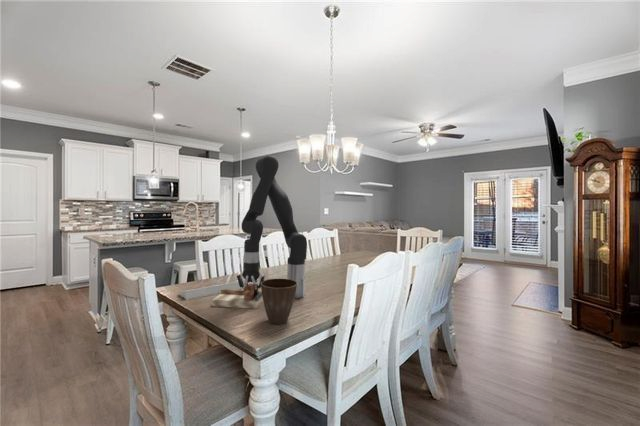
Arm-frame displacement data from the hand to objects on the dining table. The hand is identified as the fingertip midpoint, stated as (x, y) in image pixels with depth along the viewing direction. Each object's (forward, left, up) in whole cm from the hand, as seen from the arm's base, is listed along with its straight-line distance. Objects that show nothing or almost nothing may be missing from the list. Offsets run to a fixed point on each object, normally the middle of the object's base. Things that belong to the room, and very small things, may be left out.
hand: (250, 296), depth 144 cm
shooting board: (+6, 0, -4) cm, 7 cm away
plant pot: (-18, +18, -4) cm, 26 cm away
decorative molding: (+25, -17, -5) cm, 31 cm away
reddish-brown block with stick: (0, +2, -1) cm, 3 cm away
